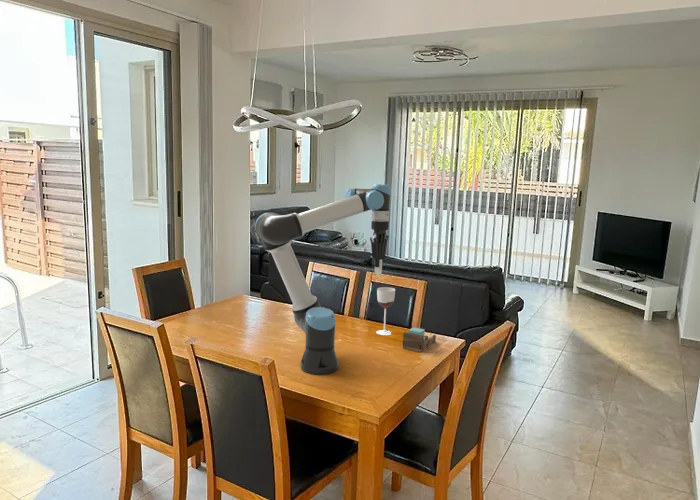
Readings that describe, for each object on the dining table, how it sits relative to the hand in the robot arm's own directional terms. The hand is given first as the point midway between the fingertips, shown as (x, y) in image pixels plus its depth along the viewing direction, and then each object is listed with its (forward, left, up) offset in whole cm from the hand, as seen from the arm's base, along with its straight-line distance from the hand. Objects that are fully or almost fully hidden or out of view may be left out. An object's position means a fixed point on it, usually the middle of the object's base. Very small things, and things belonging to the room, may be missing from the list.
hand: (378, 274), depth 223 cm
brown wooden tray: (+17, -14, -34) cm, 41 cm away
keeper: (+13, -14, -33) cm, 38 cm away
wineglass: (+24, +8, -35) cm, 43 cm away
